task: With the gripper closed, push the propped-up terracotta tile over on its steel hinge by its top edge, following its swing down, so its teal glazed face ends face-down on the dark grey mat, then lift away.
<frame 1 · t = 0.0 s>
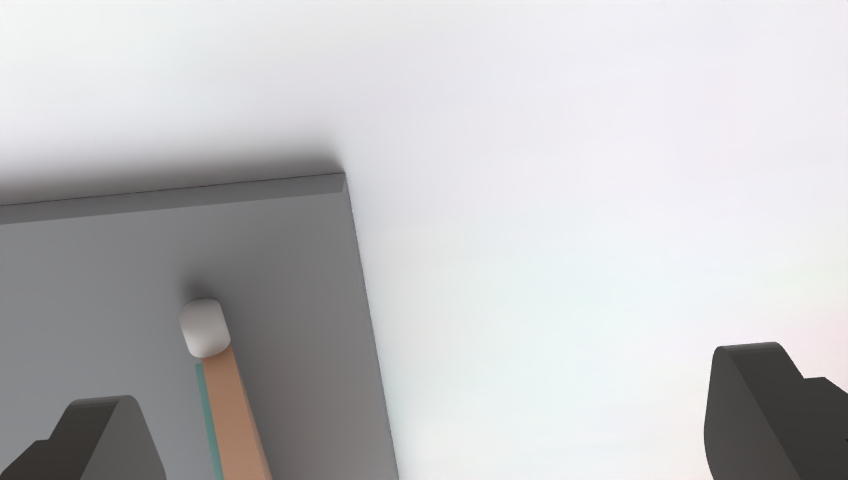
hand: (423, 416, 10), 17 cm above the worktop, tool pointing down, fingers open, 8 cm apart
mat: (198, 437, 35), on the worktop
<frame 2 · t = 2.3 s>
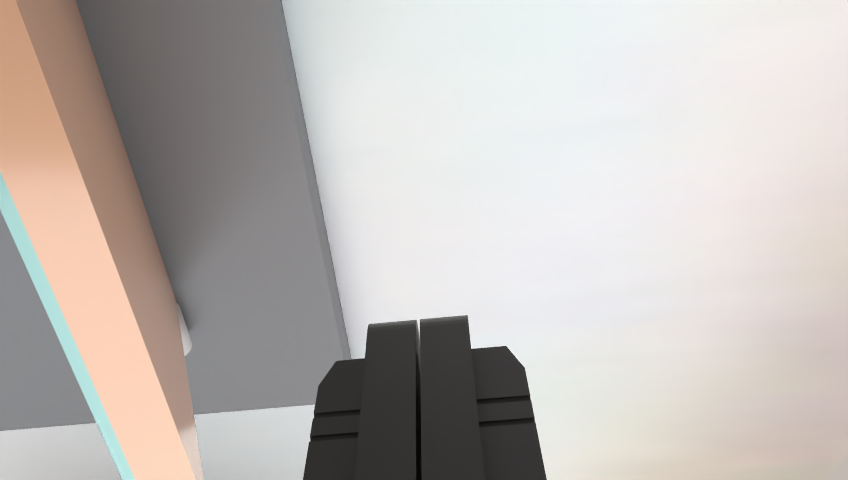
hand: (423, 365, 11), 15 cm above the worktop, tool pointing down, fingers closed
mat: (24, 99, 25), on the worktop
tile: (83, 183, 18), point 7 cm above the worktop, hinge at 70.0°
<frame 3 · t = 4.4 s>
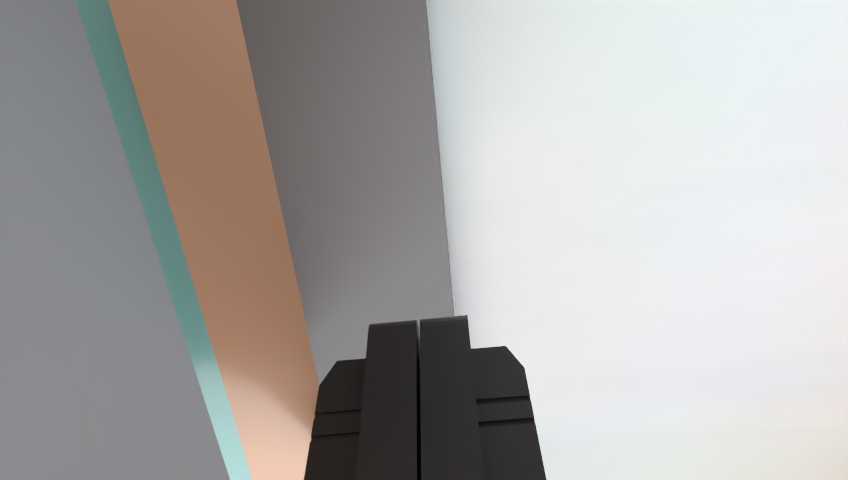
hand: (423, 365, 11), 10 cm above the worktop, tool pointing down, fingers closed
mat: (113, 144, 21), on the worktop
tile: (226, 265, 14), point 7 cm above the worktop, hinge at 70.4°, touching gripper
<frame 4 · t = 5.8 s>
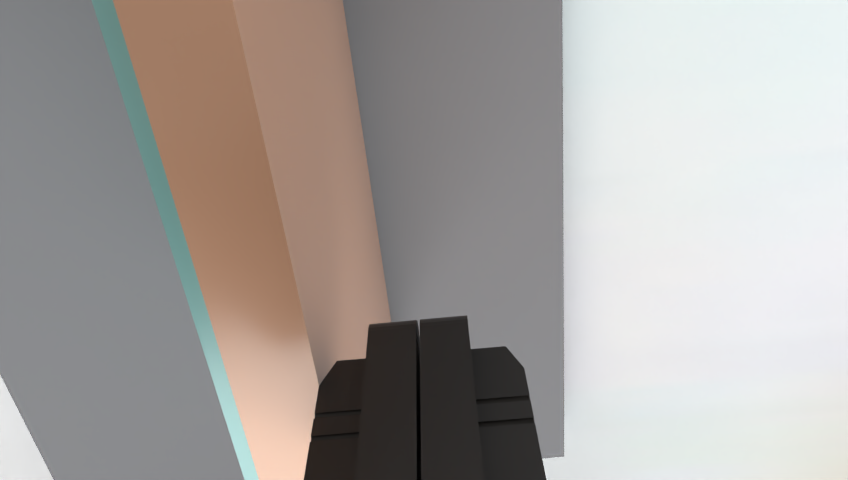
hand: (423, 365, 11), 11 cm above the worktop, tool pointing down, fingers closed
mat: (237, 121, 21), on the worktop
tile: (313, 243, 15), point 7 cm above the worktop, hinge at 90.4°, touching gripper
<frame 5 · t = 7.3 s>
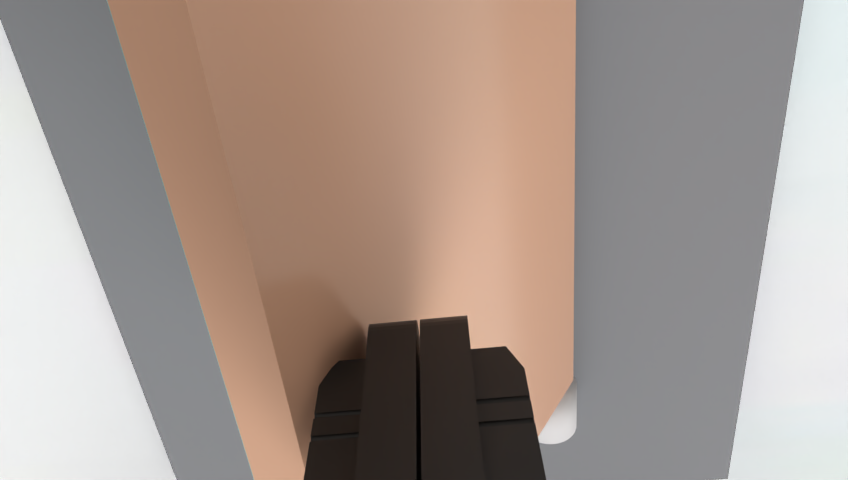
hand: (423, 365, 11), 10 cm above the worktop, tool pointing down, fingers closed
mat: (417, 120, 20), on the worktop
tile: (436, 248, 14), point 7 cm above the worktop, hinge at 122.5°, touching gripper
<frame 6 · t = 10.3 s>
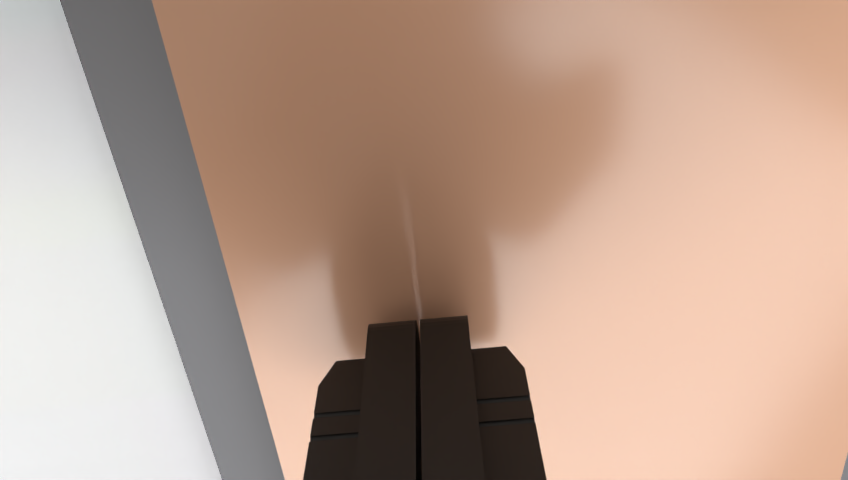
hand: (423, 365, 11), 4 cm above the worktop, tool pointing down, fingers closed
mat: (641, 223, 15), on the worktop
tile: (560, 309, 12), point 3 cm above the worktop, hinge at 177.7°
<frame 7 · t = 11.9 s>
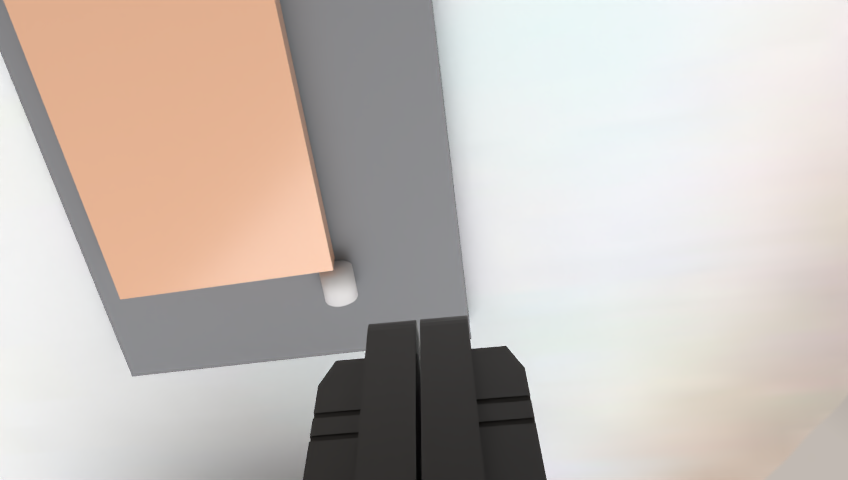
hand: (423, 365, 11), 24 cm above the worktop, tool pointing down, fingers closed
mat: (245, 112, 34), on the worktop
tile: (188, 138, 32), point 3 cm above the worktop, hinge at 177.7°
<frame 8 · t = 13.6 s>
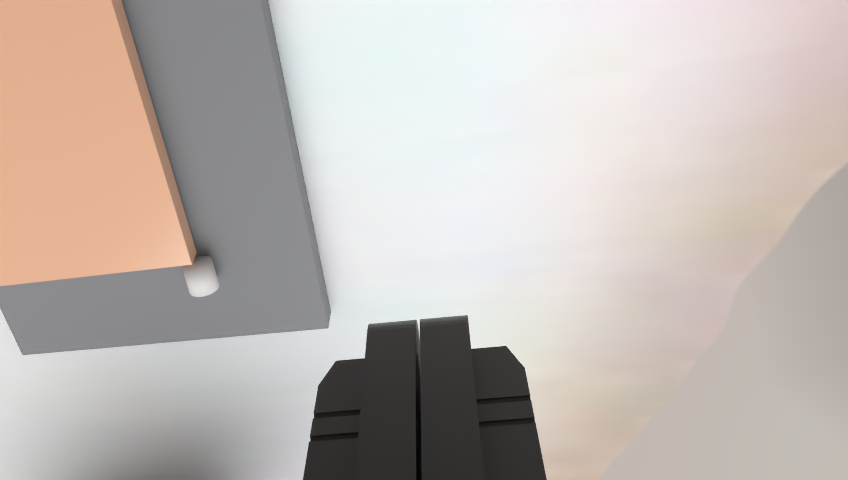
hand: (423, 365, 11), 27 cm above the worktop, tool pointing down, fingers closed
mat: (113, 121, 38), on the worktop
tile: (54, 145, 36), point 3 cm above the worktop, hinge at 177.7°
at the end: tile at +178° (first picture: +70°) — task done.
